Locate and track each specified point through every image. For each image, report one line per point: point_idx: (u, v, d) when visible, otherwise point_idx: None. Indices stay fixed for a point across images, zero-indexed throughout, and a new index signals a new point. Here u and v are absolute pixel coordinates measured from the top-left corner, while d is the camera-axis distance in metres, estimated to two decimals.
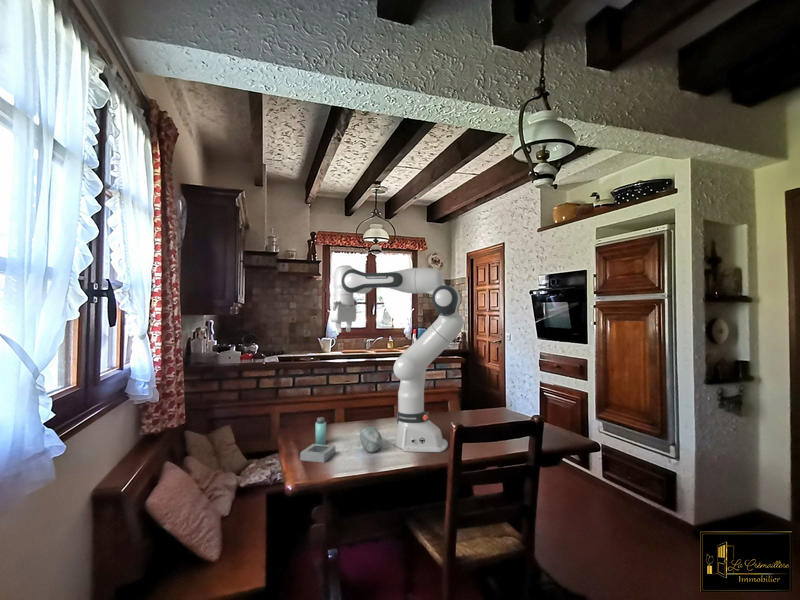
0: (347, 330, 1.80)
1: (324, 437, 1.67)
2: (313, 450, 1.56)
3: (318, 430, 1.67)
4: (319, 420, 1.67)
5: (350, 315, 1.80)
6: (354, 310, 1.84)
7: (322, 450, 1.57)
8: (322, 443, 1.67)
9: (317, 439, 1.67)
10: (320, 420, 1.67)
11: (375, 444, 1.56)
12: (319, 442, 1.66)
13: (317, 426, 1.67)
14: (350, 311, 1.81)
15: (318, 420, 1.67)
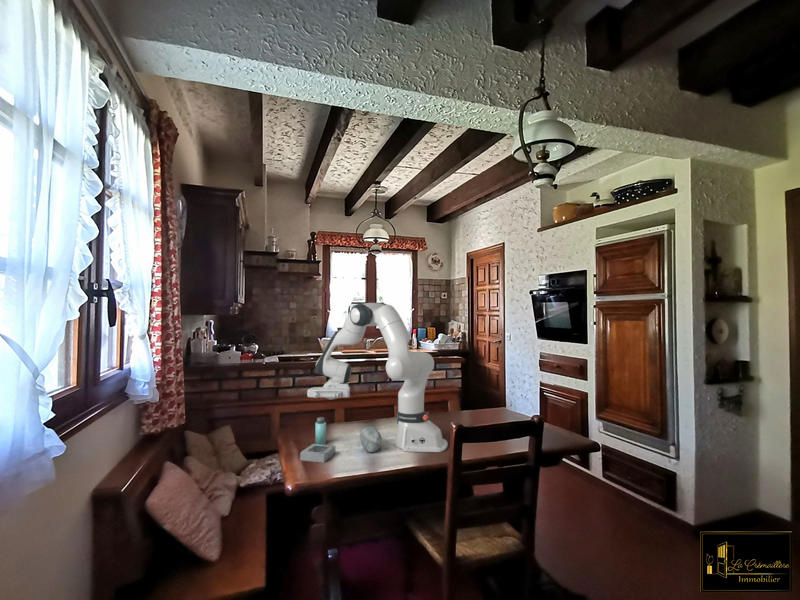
0: (335, 395, 1.82)
1: (324, 437, 1.67)
2: (313, 450, 1.56)
3: (318, 430, 1.67)
4: (319, 420, 1.67)
5: (336, 388, 1.89)
6: (345, 387, 1.91)
7: (322, 450, 1.57)
8: (322, 443, 1.67)
9: (317, 439, 1.67)
10: (320, 420, 1.67)
11: (375, 444, 1.56)
12: (319, 442, 1.66)
13: (317, 426, 1.67)
14: (338, 388, 1.91)
15: (318, 420, 1.67)
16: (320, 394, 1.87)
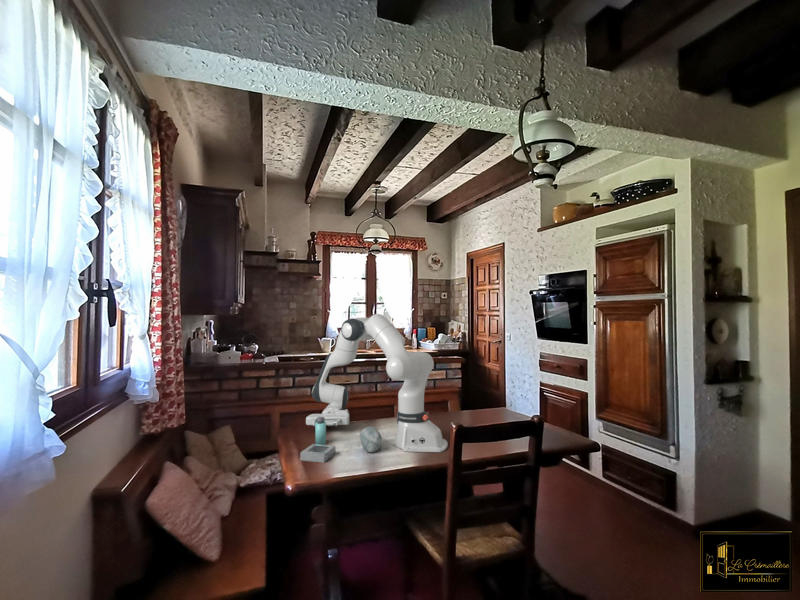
0: (334, 423, 1.78)
1: (324, 437, 1.67)
2: (313, 450, 1.56)
3: (318, 430, 1.67)
4: (318, 420, 1.67)
5: (335, 415, 1.85)
6: (344, 414, 1.87)
7: (322, 450, 1.57)
8: (322, 443, 1.67)
9: (317, 439, 1.67)
10: (320, 420, 1.67)
11: (375, 444, 1.56)
12: (319, 442, 1.66)
13: (317, 426, 1.67)
14: None
15: (318, 420, 1.67)
16: None
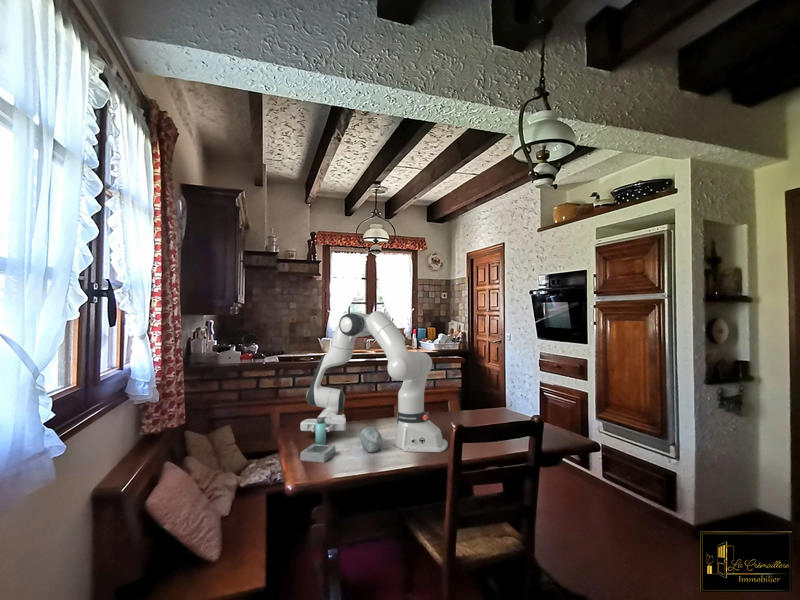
0: None
1: (324, 437, 1.67)
2: (313, 450, 1.56)
3: (318, 430, 1.67)
4: (319, 420, 1.67)
5: (331, 421, 1.75)
6: (341, 419, 1.78)
7: (322, 450, 1.57)
8: (322, 443, 1.67)
9: (317, 439, 1.67)
10: (320, 420, 1.67)
11: (375, 444, 1.56)
12: (319, 442, 1.66)
13: (317, 426, 1.67)
14: (333, 420, 1.77)
15: (318, 420, 1.67)
16: None
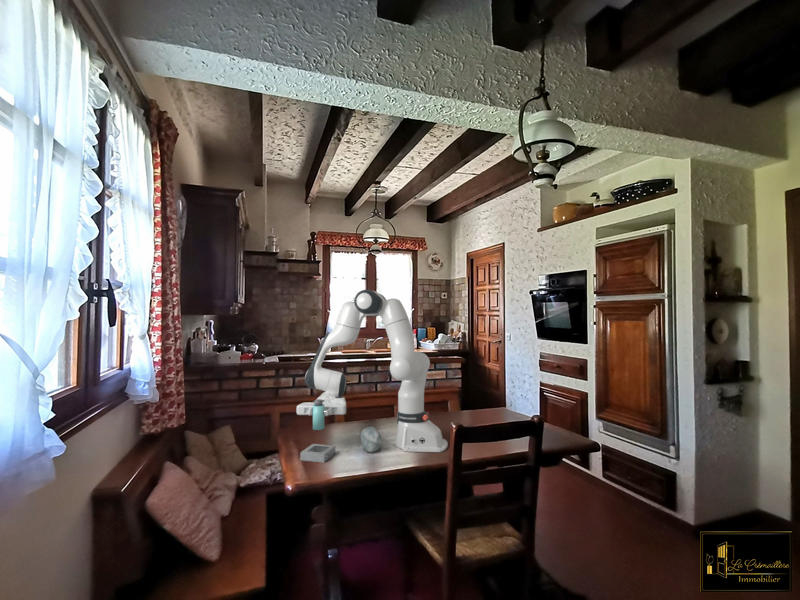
0: None
1: (322, 420, 1.53)
2: (313, 450, 1.56)
3: (316, 413, 1.53)
4: (316, 402, 1.53)
5: (330, 404, 1.62)
6: (341, 402, 1.64)
7: (322, 450, 1.57)
8: (320, 427, 1.53)
9: (314, 423, 1.53)
10: (318, 402, 1.53)
11: (375, 444, 1.56)
12: (317, 426, 1.52)
13: (315, 409, 1.53)
14: (332, 403, 1.63)
15: (315, 402, 1.54)
16: None
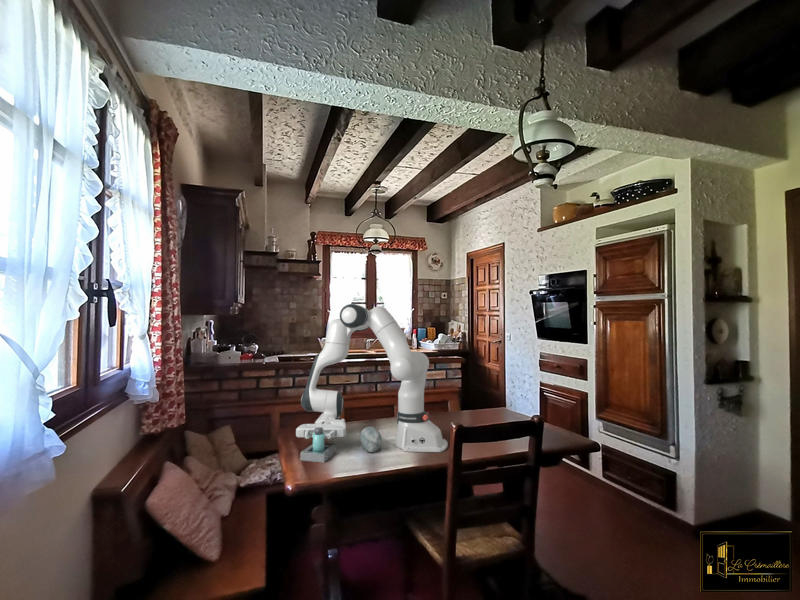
0: (326, 436, 1.53)
1: (322, 449, 1.52)
2: None
3: (316, 442, 1.51)
4: (316, 431, 1.52)
5: (330, 426, 1.60)
6: (341, 424, 1.63)
7: None
8: None
9: None
10: (318, 431, 1.52)
11: (375, 444, 1.56)
12: None
13: (315, 438, 1.52)
14: (332, 425, 1.62)
15: (316, 431, 1.52)
16: (311, 433, 1.58)
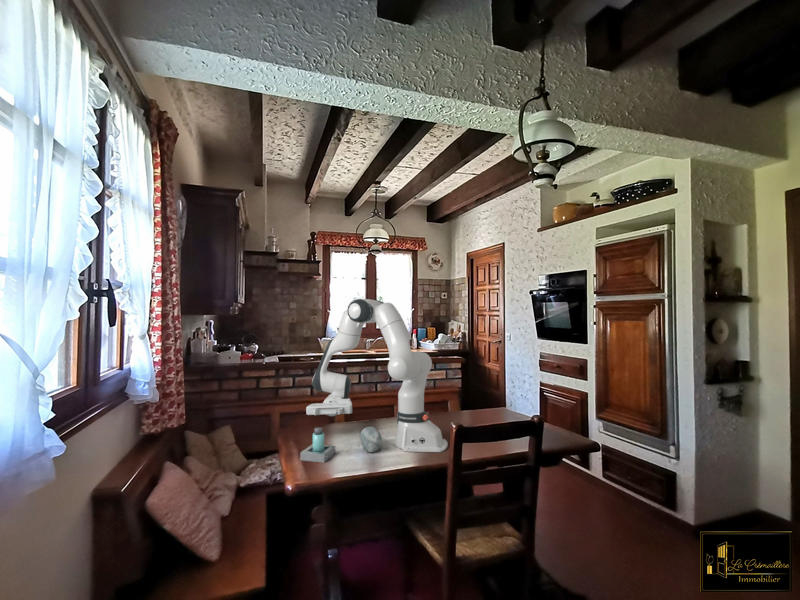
0: (336, 412, 1.67)
1: (322, 449, 1.52)
2: None
3: (316, 442, 1.51)
4: (316, 431, 1.52)
5: (337, 404, 1.75)
6: (347, 402, 1.77)
7: None
8: None
9: None
10: (318, 431, 1.52)
11: (375, 444, 1.56)
12: None
13: (315, 438, 1.51)
14: (339, 404, 1.76)
15: (315, 431, 1.52)
16: (320, 411, 1.72)
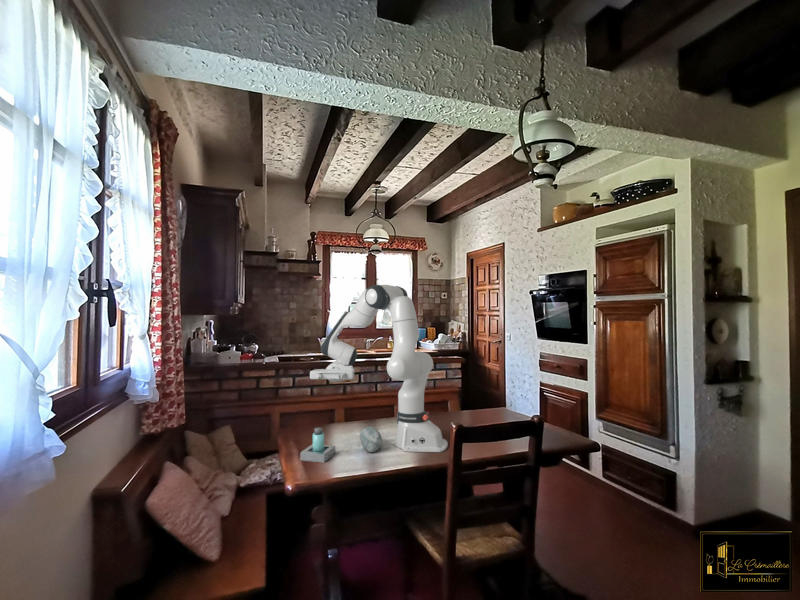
0: (338, 377, 1.73)
1: (322, 449, 1.52)
2: None
3: (315, 442, 1.51)
4: (316, 431, 1.52)
5: (340, 370, 1.80)
6: (349, 369, 1.83)
7: None
8: None
9: None
10: (318, 431, 1.52)
11: (375, 444, 1.56)
12: None
13: (315, 438, 1.51)
14: (342, 370, 1.82)
15: (315, 431, 1.52)
16: (323, 376, 1.78)
